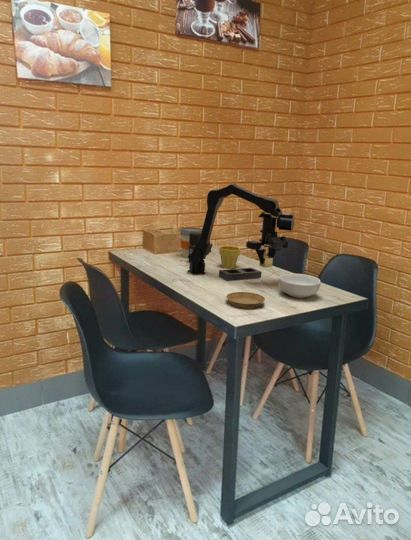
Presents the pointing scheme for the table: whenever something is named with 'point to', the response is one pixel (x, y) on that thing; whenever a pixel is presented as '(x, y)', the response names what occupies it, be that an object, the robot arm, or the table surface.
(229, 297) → the plant saucer
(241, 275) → the rail
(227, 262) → the plant pot
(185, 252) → the reusable coffee cup
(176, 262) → the table surface
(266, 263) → the nut
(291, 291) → the cereal bowl
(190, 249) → the deodorant
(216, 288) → the table surface
